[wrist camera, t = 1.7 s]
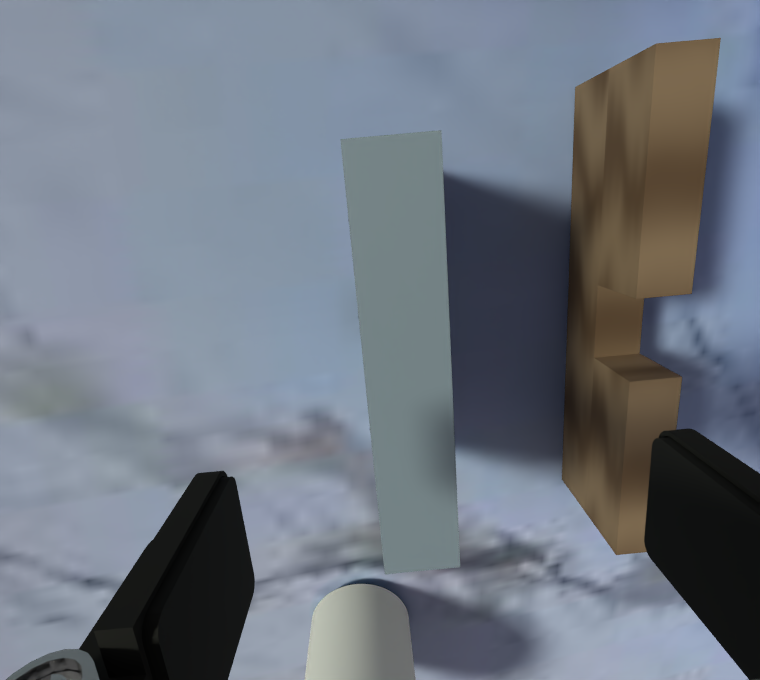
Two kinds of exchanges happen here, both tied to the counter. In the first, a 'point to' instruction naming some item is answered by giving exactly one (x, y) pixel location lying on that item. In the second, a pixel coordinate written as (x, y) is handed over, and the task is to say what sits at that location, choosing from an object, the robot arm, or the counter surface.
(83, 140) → the counter surface
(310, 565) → the counter surface
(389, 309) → the plain grey board
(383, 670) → the can
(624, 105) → the walnut slotted board
